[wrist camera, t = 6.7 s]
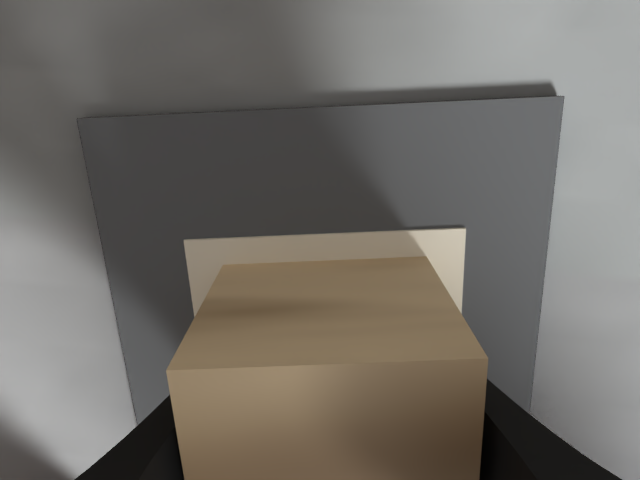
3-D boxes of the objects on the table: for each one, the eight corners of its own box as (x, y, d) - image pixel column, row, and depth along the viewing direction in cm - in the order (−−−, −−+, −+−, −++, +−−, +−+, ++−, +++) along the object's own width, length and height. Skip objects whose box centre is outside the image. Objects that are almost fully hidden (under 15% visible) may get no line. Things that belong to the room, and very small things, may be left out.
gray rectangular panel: (512, 523, 16) (517, 533, 16) (163, 534, 16) (160, 545, 16) (558, 95, 12) (566, 96, 12) (82, 117, 12) (74, 119, 12)
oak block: (421, 425, 15) (470, 591, 10) (242, 431, 15) (204, 599, 10) (426, 256, 13) (488, 358, 8) (222, 264, 13) (166, 370, 8)
